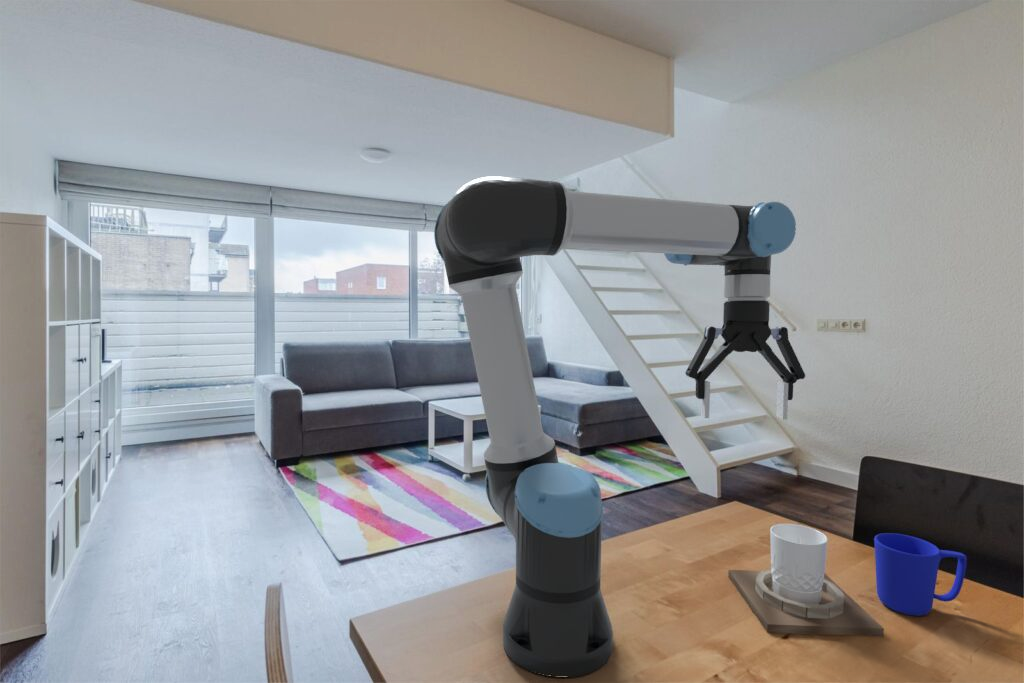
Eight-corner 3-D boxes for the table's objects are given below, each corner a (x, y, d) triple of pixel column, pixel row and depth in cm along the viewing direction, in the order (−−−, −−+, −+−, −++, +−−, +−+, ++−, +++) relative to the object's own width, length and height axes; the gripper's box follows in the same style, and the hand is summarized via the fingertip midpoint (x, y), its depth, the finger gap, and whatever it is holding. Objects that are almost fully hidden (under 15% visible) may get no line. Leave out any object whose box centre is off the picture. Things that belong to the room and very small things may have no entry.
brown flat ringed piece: (767, 632, 76) (767, 614, 76) (728, 576, 92) (728, 561, 92) (883, 636, 75) (884, 618, 75) (823, 579, 91) (824, 564, 91)
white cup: (826, 591, 85) (828, 530, 84) (824, 615, 78) (826, 549, 77) (771, 578, 89) (773, 519, 88) (765, 599, 82) (767, 536, 82)
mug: (980, 628, 77) (983, 560, 77) (886, 618, 80) (889, 553, 79) (946, 598, 85) (949, 537, 85) (862, 590, 88) (865, 530, 87)
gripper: (807, 300, 98) (803, 414, 99) (670, 300, 99) (668, 412, 101) (829, 299, 90) (825, 422, 92) (680, 299, 92) (678, 420, 93)
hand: (743, 417), depth 96 cm, fingers open, 13 cm apart
